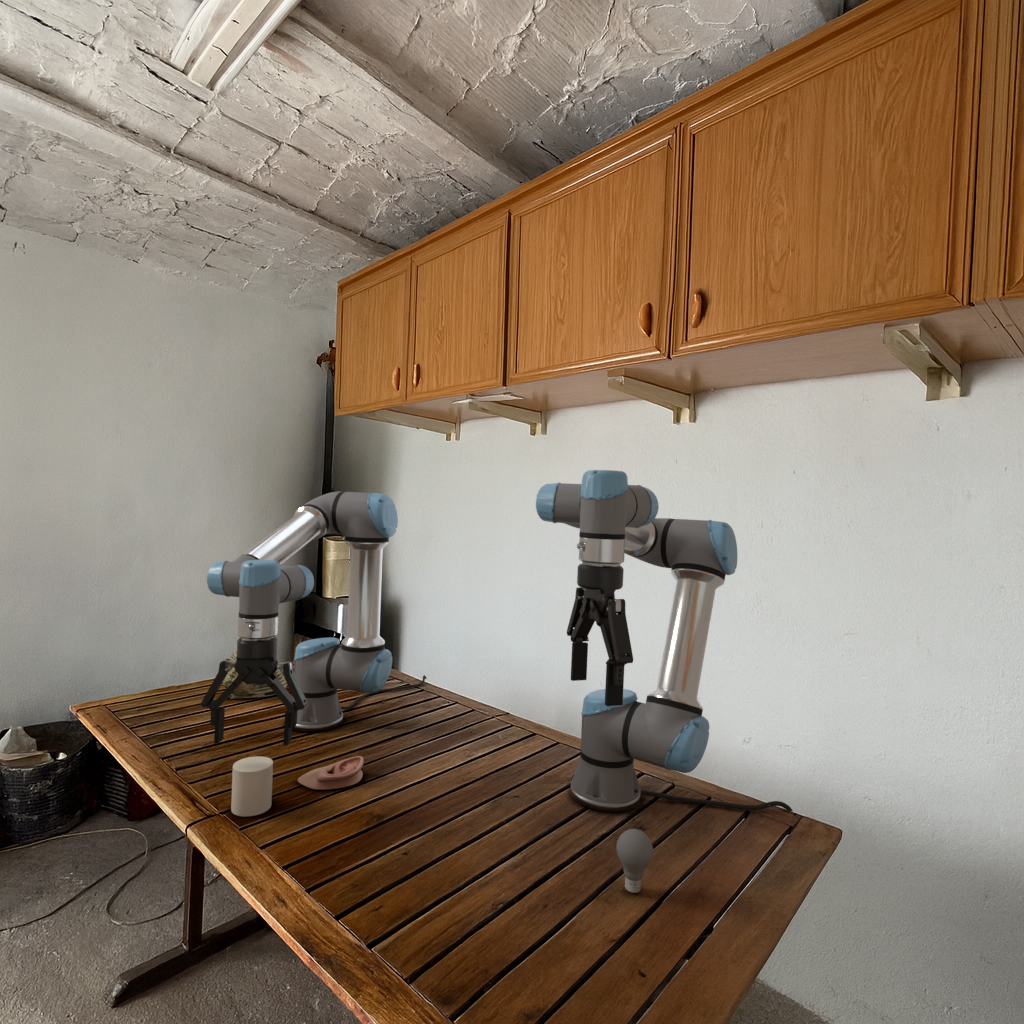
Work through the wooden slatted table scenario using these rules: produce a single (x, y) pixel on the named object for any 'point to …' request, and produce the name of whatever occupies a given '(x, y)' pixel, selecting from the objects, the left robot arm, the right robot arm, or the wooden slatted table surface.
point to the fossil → (249, 689)
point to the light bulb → (634, 857)
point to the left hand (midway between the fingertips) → (253, 742)
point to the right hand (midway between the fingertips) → (594, 691)
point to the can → (252, 786)
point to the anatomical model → (334, 775)
